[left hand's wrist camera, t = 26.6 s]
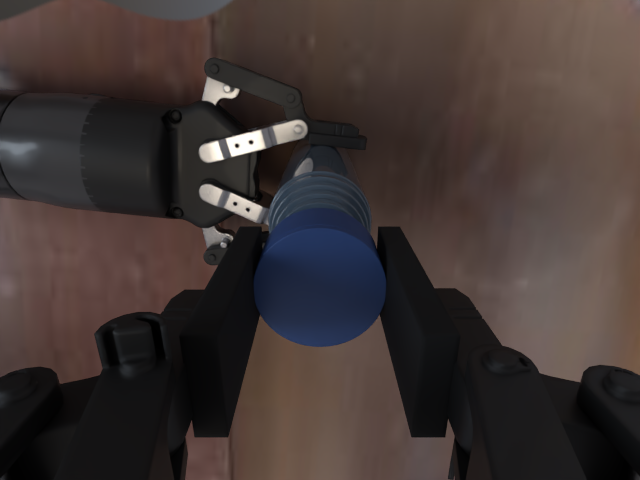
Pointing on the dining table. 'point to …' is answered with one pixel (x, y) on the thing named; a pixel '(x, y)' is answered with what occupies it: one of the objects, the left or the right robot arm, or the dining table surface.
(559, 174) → the dining table surface
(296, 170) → the bottle
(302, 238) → the cap
